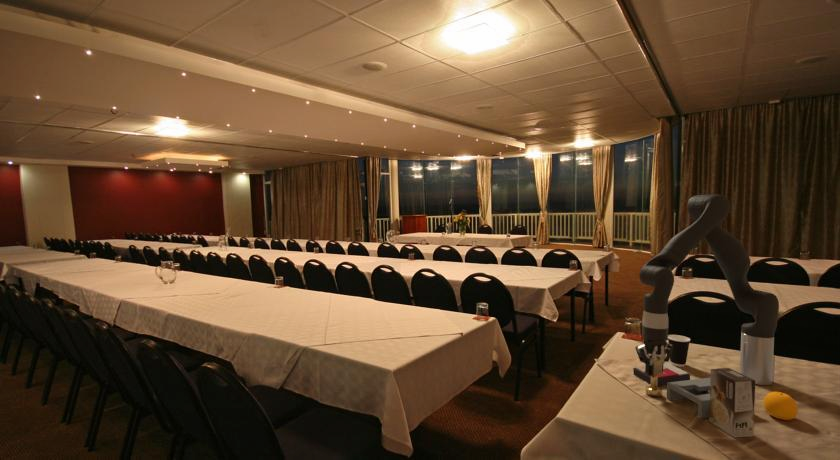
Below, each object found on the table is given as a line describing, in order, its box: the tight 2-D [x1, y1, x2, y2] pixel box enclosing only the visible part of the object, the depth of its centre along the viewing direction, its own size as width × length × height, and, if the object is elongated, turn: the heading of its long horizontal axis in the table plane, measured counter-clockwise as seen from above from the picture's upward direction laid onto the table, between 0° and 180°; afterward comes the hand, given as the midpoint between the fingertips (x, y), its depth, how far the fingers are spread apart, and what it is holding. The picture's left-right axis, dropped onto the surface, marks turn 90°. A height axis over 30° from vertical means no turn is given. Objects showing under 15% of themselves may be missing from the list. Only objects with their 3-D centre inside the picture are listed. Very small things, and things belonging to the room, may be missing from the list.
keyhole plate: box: [666, 377, 710, 419], centre depth 130 cm, size 18×13×6 cm
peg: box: [645, 357, 663, 398], centre depth 137 cm, size 5×5×12 cm
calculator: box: [632, 362, 691, 387], centre depth 150 cm, size 11×4×15 cm
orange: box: [762, 391, 799, 421], centre depth 122 cm, size 8×8×8 cm
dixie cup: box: [667, 334, 691, 368], centre depth 163 cm, size 8×8×11 cm
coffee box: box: [708, 367, 756, 438], centre depth 116 cm, size 9×6×16 cm
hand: (654, 374), depth 137 cm, fingers closed on peg, 3 cm apart
